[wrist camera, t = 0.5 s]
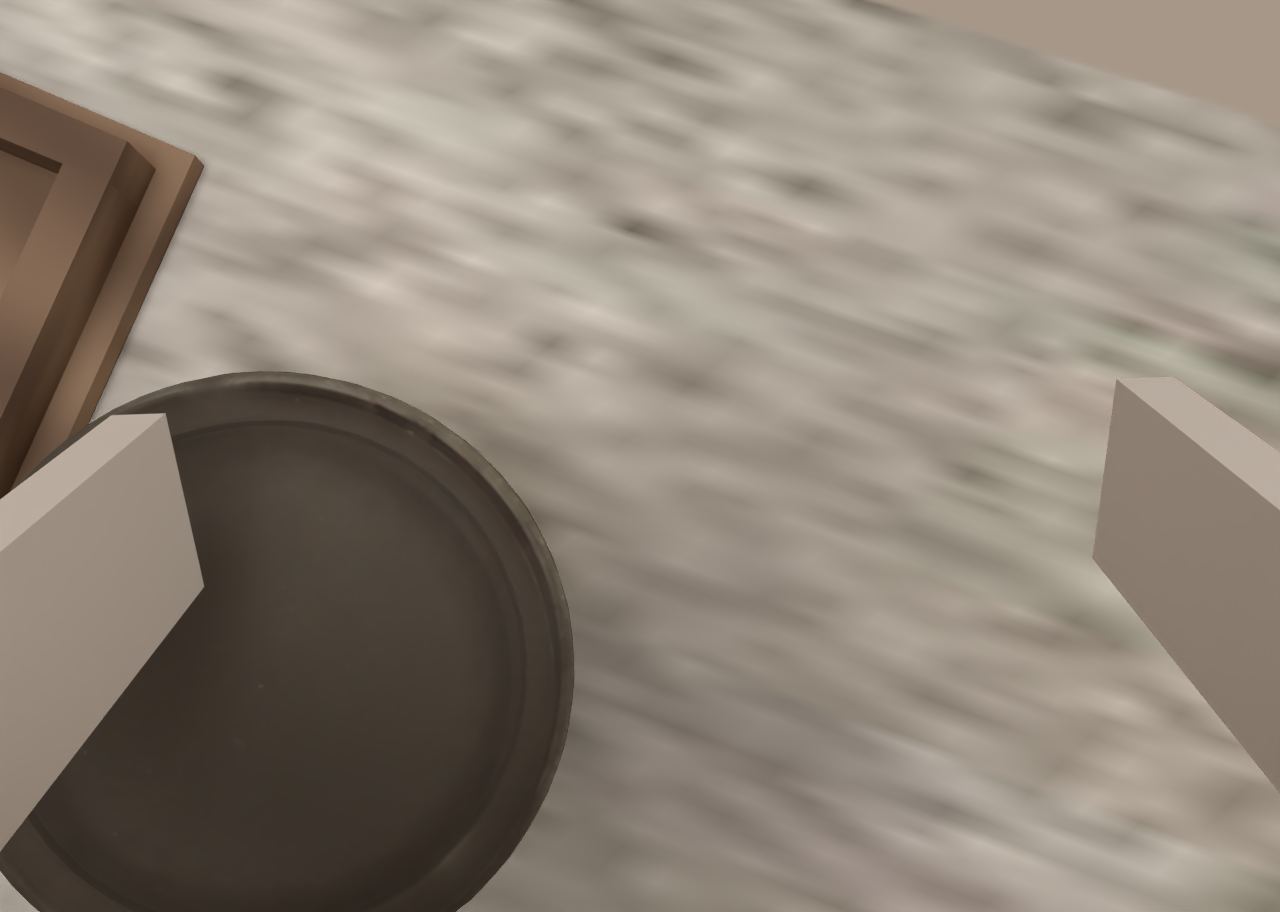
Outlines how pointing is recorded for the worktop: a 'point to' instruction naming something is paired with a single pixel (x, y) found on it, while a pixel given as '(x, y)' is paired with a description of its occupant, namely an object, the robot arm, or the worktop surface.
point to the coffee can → (319, 674)
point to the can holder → (72, 260)
